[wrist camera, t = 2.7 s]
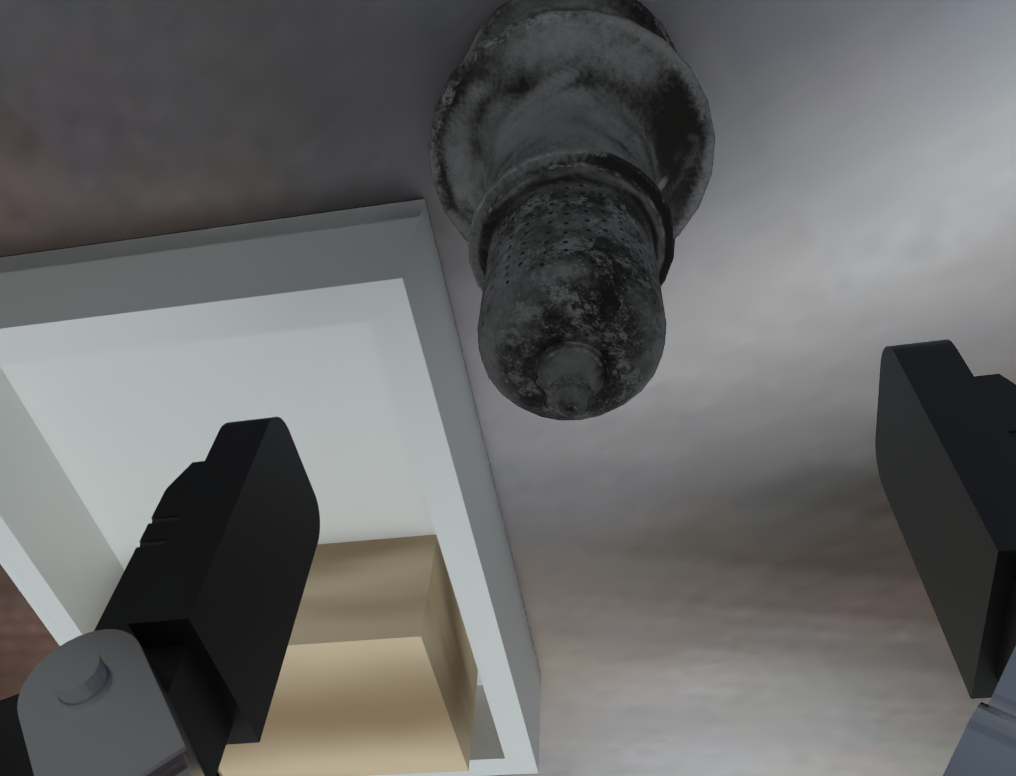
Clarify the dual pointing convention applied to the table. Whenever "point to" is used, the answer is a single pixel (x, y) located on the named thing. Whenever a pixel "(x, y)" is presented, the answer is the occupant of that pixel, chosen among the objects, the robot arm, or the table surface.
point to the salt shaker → (571, 194)
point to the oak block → (370, 670)
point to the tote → (256, 416)
